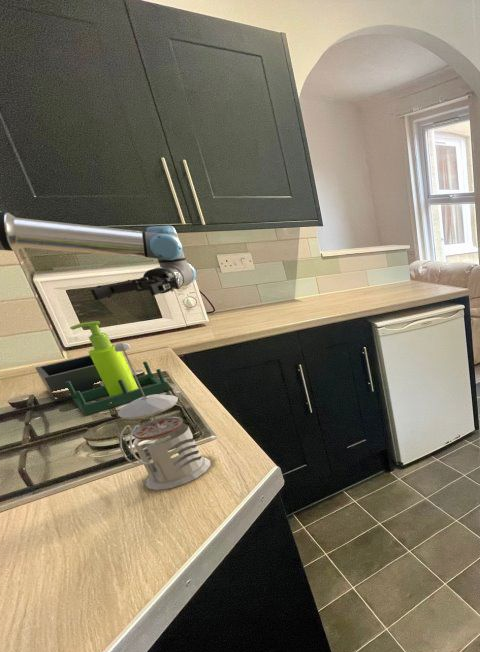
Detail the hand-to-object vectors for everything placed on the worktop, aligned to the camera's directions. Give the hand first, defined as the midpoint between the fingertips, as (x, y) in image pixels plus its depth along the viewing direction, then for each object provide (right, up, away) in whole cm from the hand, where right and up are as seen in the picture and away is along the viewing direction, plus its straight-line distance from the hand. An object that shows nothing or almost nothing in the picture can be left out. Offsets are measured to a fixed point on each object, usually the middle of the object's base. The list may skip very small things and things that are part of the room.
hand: (123, 292), depth 115 cm
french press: (+46, -42, -39) cm, 73 cm away
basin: (-12, -26, +3) cm, 28 cm away
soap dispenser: (+5, -29, -5) cm, 29 cm away
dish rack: (+5, -28, -5) cm, 29 cm away
